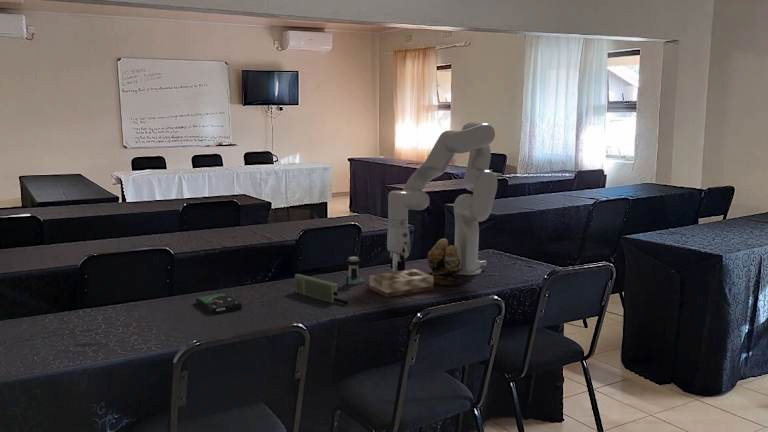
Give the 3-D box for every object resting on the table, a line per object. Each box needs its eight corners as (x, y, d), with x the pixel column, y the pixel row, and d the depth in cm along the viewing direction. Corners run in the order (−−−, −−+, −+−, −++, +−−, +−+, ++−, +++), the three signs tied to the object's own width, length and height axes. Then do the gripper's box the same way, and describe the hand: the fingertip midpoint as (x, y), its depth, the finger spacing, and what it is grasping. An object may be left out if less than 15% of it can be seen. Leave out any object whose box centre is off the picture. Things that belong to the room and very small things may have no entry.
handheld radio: (300, 290, 240) (350, 305, 223) (293, 293, 237) (343, 307, 221) (300, 273, 238) (350, 286, 222) (293, 275, 236) (343, 288, 220)
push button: (359, 280, 254) (359, 255, 252) (366, 284, 249) (366, 258, 248) (343, 282, 250) (344, 256, 249) (350, 286, 246) (350, 259, 244)
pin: (399, 275, 261) (399, 250, 259) (404, 277, 258) (405, 252, 256) (390, 276, 259) (390, 251, 257) (396, 279, 256) (396, 253, 254)
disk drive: (242, 311, 217) (224, 299, 229) (242, 302, 216) (224, 291, 228) (212, 316, 211) (195, 304, 222) (212, 308, 210) (195, 296, 222)
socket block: (414, 281, 253) (414, 269, 252) (433, 289, 243) (433, 276, 242) (369, 288, 243) (369, 275, 242) (386, 297, 233) (387, 283, 232)
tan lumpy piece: (471, 285, 251) (472, 240, 248) (447, 290, 244) (449, 244, 241) (439, 274, 265) (440, 232, 262) (416, 279, 258) (417, 236, 255)
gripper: (418, 225, 250) (417, 272, 253) (394, 218, 264) (394, 263, 267) (401, 227, 246) (401, 275, 249) (378, 220, 260) (378, 266, 263)
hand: (397, 268), depth 258 cm, fingers closed on pin, 4 cm apart
